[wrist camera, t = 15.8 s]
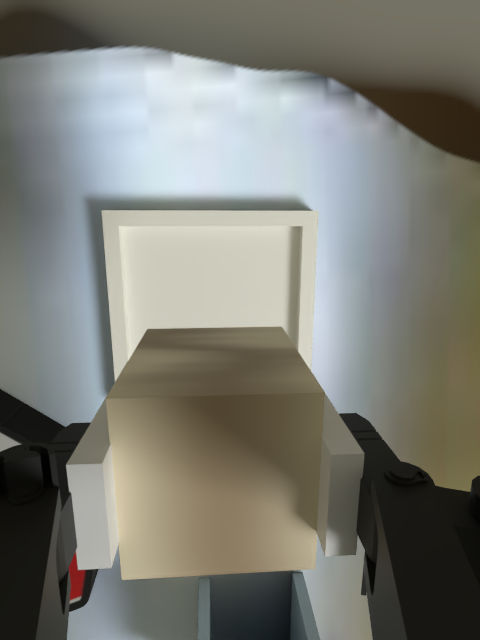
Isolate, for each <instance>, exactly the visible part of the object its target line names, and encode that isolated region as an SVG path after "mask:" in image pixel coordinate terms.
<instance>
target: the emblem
mask: <svg viewBox="0 0 480 640" xmlns="http://www.w3.org/2000/svg"><path fill="white" fill-rule="evenodd" d="M64 428H66V427H64V426H63V425H61V424H59V423H58V422H56V421H54V420H52V419H51V418H49V417H47V416H46V415H44V414H42V413H40V412H39V411H37V410H35V409H34V408H32V407H30V406H29V405H27V404H25V403H23V402H22V401H20V400H18V399H16V398H15V397H13V396H11V395H10V394H8V393H6V392H4V391H3V390H1V389H0V452H1V451H3V450H5V449H8V448H10V447H13V446H16V445H21V444H25V443H37V442H39V443H45V444H49V445H51V442H52V441H53V439H54V438H55V436H56V435H57V434H58V432H60V431H61V430H63V429H64ZM69 572H70V580H71V592H70V604H69V612H70V611H73V610H76V609H79V608H81V607H83V606H84V605H85V604H86V603H87V602H88V600H89V597H90V594H91V591H92V587H93V584H94V581H95V578H96V575H97V572H98V569H87V570H78V565H77V556H76V551H75V554H74V556H73V559H72V561H71V564H70V566H69Z"/></svg>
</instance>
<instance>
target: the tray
mask: <svg viewBox="0 0 480 640" xmlns="http://www.w3.org/2000/svg"><path fill="white" fill-rule="evenodd" d="M102 222H103V235H104V248H105V261H106V274H107V287H108V300H109V312H110V325H111V338H112V351H113V364H114V377H115V381H116V380H117V378H118V376H119V375H120V373H121V371H122V370H123V368H124V366H125V365H126V363H127V361H129V359H130V357H131V356H132V354H133V352H134V350H135V349H136V347H137V345H138V344H139V342H140V340H141V339H142V337H143V335H144V334H145V332H146V330H147V329H169V328H225V327H280V326H282V328H283V329H284V331H285V332H286V334H287V335H288V337H289V338H290V340H291V341H292V343H293V344H294V346H295V347H296V349H297V351H298V352H299V354H300V355H301V357H302V358H303V360H304V361H305V363H306V364H307V366H308V367H309V369H310V370H311V362H312V340H313V318H314V297H315V275H316V253H317V231H318V211H220V210H102Z"/></svg>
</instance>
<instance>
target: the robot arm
mask: <svg viewBox="0 0 480 640" xmlns="http://www.w3.org/2000/svg"><path fill="white" fill-rule="evenodd" d="M127 362H128V361H127ZM126 364H127V363H126ZM125 366H126V365H125ZM125 366H124V367H125ZM123 369H124V368H123ZM122 371H123V370H122ZM122 371H121V372H122ZM120 374H121V373H120ZM119 376H120V375H119ZM119 376H118V377H119ZM117 379H118V378H117ZM116 381H117V380H116ZM116 381H115V382H116ZM114 384H115V383H114ZM113 386H114V385H113ZM113 386H112V388H113ZM112 388H111V389H112ZM110 391H111V390H110ZM109 393H110V392H109ZM109 393H108V394H109ZM107 396H108V395H107ZM106 398H107V397H106ZM106 398H105V400H104V402H103V403H102V405H101V407H100V408H99V410H98V412H97V413H96V415H95V417H94V419H93V420H92V422H91V423H72V424H70V425H69V426H67V427H66V428H64V429H63V430H61V431H60V432H58V434H57V435H56V436H55V438H54V439H53V441H52V442H51V445H49V444H45V443H39V442H37V443H25V444H21V445H16V446H13V447H10V448H8V449H5V450H3V451H1V452H0V640H67V629H68V616H69V604H70V592H71V580H70V572H69V566H70V564H71V561H72V559H73V556H74V554H75V551H76V556H77V565H78V570H87V569H105V568H112V565H113V562H114V558H115V555H116V551H117V548H118V544H119V532H118V520H117V508H116V496H115V484H114V472H113V460H112V448H111V444H110V440H109V429H108V417H107V406H106ZM317 534H318V537H319V540H320V543H321V546H322V549H323V552H324V555H325V556H341V555H356V549H357V537H358V536H359V538H360V540H361V542H362V545H363V547H364V549H365V557H364V568H363V579H362V590H361V595H366V593H367V598H368V606H369V614H370V621H371V629H372V637H373V640H480V476H477V477H476V478H474V479H473V480H472V485H471V491H470V492H467V491H461V490H455V489H448V488H443V487H439V486H435V484H434V482H433V480H432V478H431V477H430V476H429V475H428V473H426V472H425V471H423V470H422V469H421V468H419V467H417V466H414V465H412V464H409V463H406V462H401V461H400V460H399V459H398V458H397V456H396V455H395V454H394V453H393V451H392V450H391V449H390V448H389V446H388V445H387V444H386V442H385V441H384V440H382V437H381V436H380V435H379V433H378V432H376V430H375V428H374V427H373V426H372V425H371V423H370V422H369V421H368V420H366V419H365V418H363V417H361V416H360V415H358V414H357V413H345V414H338V412H337V411H336V409H335V408H334V406H333V405H332V403H331V402H330V400H329V399H328V397H327V396H326V394H325V398H324V417H323V435H322V446H321V464H320V482H319V499H318V517H317Z"/></svg>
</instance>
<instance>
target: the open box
mask: <svg viewBox="0 0 480 640" xmlns="http://www.w3.org/2000/svg"><path fill="white" fill-rule="evenodd" d="M197 640H211V614H210V578H204V579H199V602H198V632H197ZM290 640H320V637H319V633H318V630H317V626H316V622H315V618H314V614H313V610H312V607H311V603H310V599H309V595H308V591H307V587H306V583H305V580H304V576H303V573H293V574H292V600H291V625H290Z"/></svg>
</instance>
